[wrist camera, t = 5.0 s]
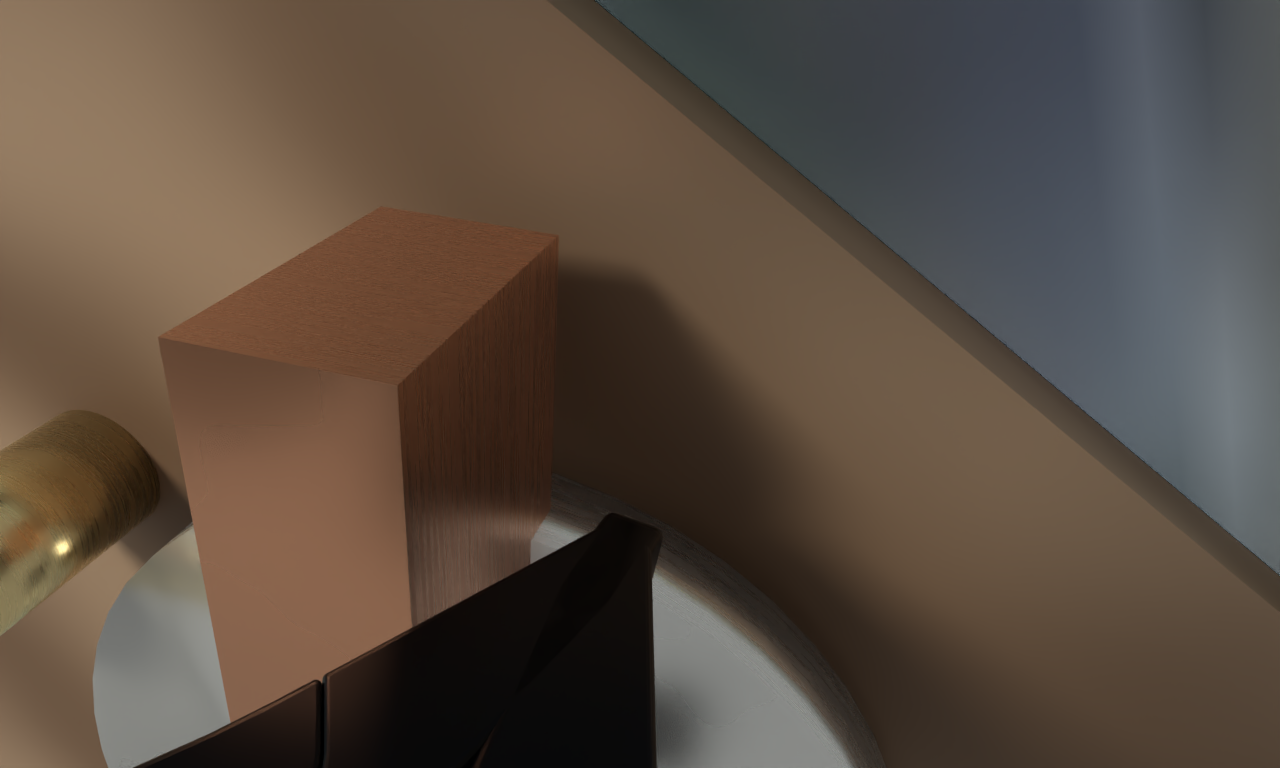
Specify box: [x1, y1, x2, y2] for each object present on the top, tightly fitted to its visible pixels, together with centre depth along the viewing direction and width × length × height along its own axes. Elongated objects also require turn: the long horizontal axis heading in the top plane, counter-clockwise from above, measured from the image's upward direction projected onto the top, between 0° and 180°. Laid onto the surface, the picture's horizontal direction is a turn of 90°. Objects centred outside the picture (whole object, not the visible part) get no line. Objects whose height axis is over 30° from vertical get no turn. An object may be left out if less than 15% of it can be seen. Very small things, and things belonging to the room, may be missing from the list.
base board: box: [0, 0, 1280, 768], centre depth 14 cm, size 18×22×1 cm
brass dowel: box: [0, 410, 160, 636], centre depth 12 cm, size 2×2×3 cm
